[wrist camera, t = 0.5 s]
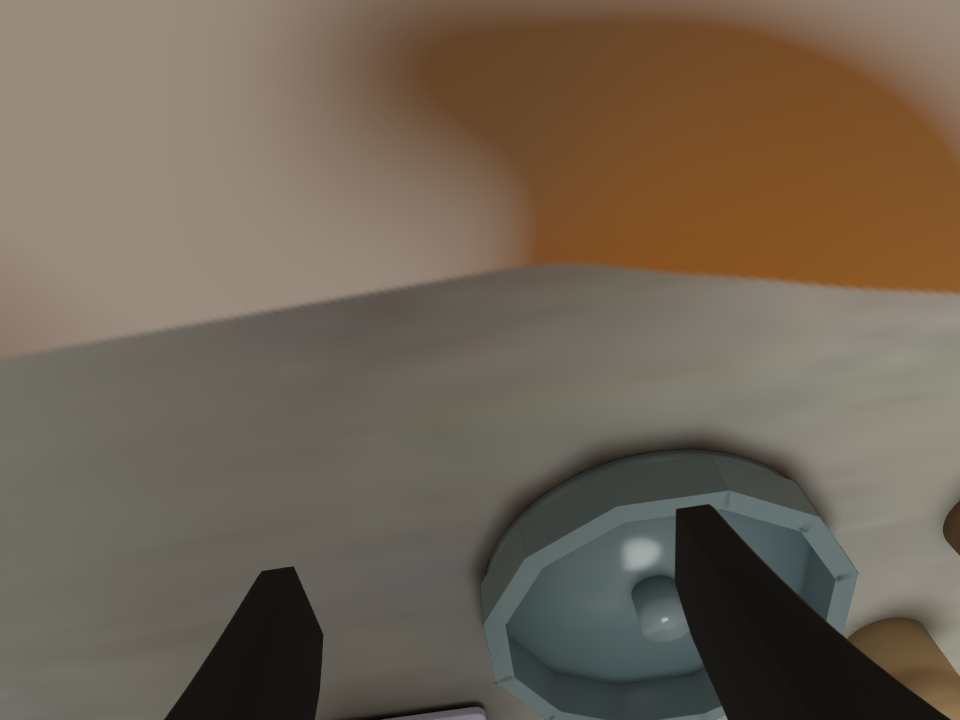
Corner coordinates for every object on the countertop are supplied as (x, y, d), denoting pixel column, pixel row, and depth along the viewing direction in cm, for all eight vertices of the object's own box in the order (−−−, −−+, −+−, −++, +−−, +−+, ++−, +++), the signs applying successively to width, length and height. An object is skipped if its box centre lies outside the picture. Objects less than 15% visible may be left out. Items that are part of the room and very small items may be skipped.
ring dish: (798, 657, 31) (823, 707, 29) (503, 698, 31) (508, 749, 29) (846, 424, 24) (885, 468, 22) (460, 478, 24) (462, 528, 22)
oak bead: (915, 664, 32) (989, 773, 28) (833, 676, 32) (894, 786, 28) (934, 612, 30) (1017, 721, 26) (846, 624, 30) (915, 735, 26)
